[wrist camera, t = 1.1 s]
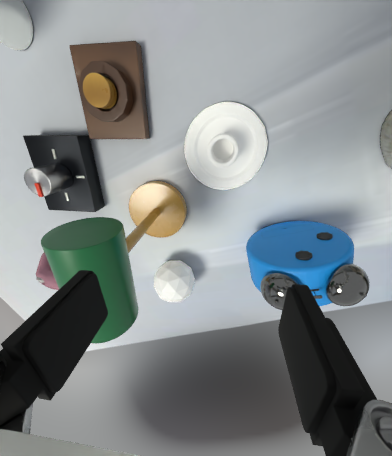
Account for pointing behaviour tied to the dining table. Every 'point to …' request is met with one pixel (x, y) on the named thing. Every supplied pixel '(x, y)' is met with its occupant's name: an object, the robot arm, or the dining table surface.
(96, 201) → the dimmer panel
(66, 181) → the dimmer knob
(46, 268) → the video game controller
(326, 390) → the robot arm
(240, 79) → the dining table surface
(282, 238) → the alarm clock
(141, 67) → the switch block
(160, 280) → the geometric ball
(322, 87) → the dining table surface
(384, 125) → the ceramic cottage
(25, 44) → the beer glass
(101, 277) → the desk lamp
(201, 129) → the candle holder
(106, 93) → the button
